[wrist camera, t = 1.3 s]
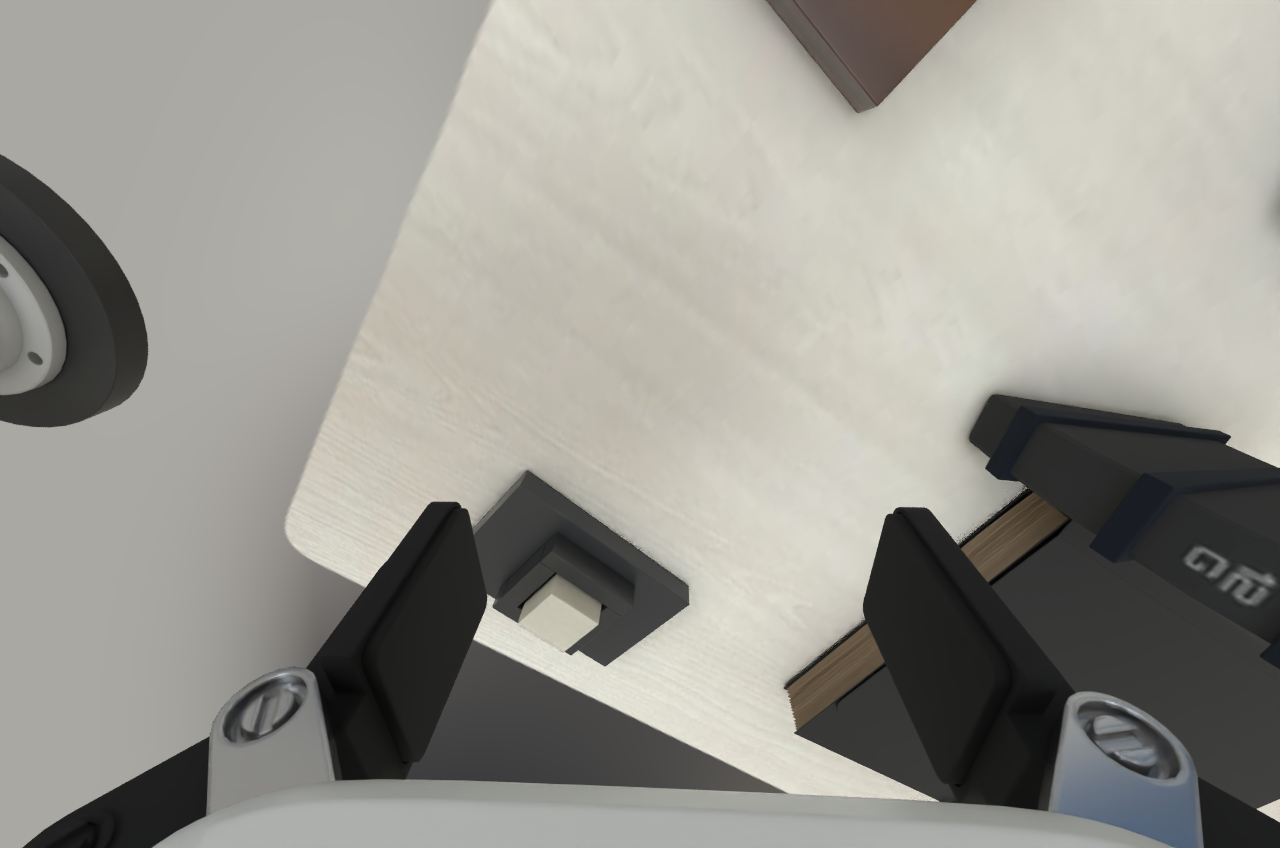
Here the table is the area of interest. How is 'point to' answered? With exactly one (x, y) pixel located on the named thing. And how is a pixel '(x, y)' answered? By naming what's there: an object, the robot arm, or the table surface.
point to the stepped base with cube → (573, 567)
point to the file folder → (1074, 660)
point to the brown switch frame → (869, 39)
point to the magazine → (1152, 499)
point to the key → (560, 613)
